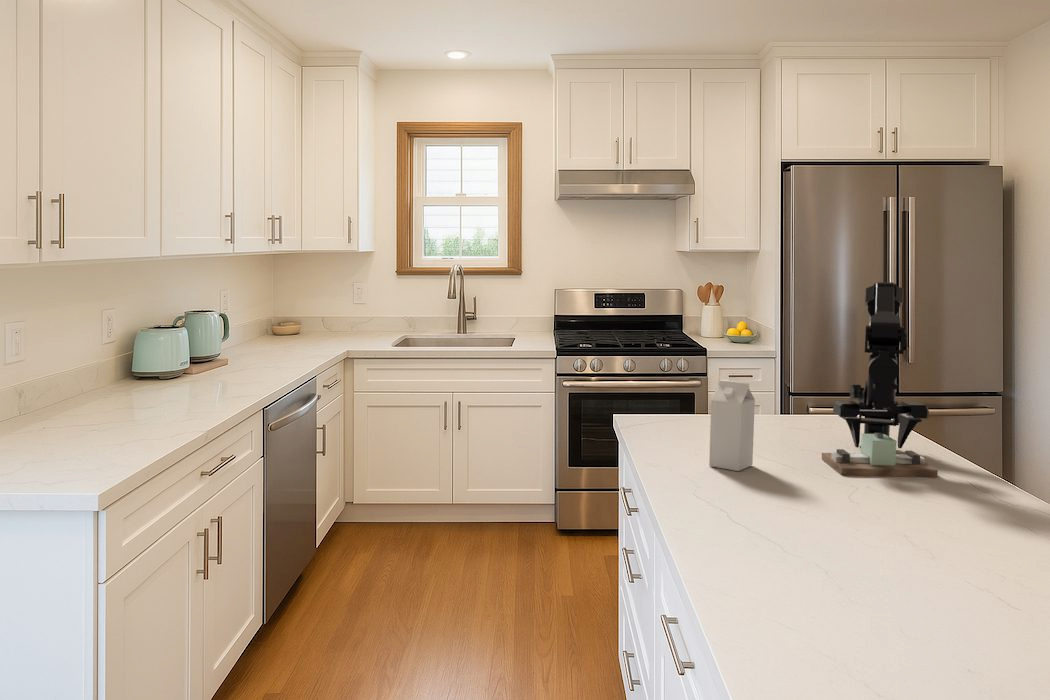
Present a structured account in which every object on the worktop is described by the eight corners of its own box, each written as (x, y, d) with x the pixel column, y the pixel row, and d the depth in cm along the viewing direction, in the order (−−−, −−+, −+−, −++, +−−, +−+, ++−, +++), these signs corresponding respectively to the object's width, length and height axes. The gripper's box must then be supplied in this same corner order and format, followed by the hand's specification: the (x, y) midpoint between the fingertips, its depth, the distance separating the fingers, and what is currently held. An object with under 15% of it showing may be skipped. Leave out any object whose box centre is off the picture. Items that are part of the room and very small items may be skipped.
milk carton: (723, 460, 185) (725, 378, 183) (752, 465, 180) (755, 381, 178) (708, 466, 179) (711, 382, 177) (739, 472, 175) (742, 385, 173)
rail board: (910, 460, 185) (911, 445, 185) (937, 477, 171) (938, 461, 171) (821, 459, 187) (822, 444, 186) (841, 475, 173) (841, 459, 172)
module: (883, 457, 182) (884, 430, 181) (895, 465, 175) (896, 437, 174) (860, 457, 182) (861, 430, 182) (871, 464, 175) (873, 436, 175)
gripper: (910, 373, 184) (906, 440, 186) (827, 372, 185) (823, 438, 187) (931, 380, 173) (927, 451, 175) (842, 379, 174) (839, 450, 176)
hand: (878, 447), depth 178 cm, fingers open, 9 cm apart
